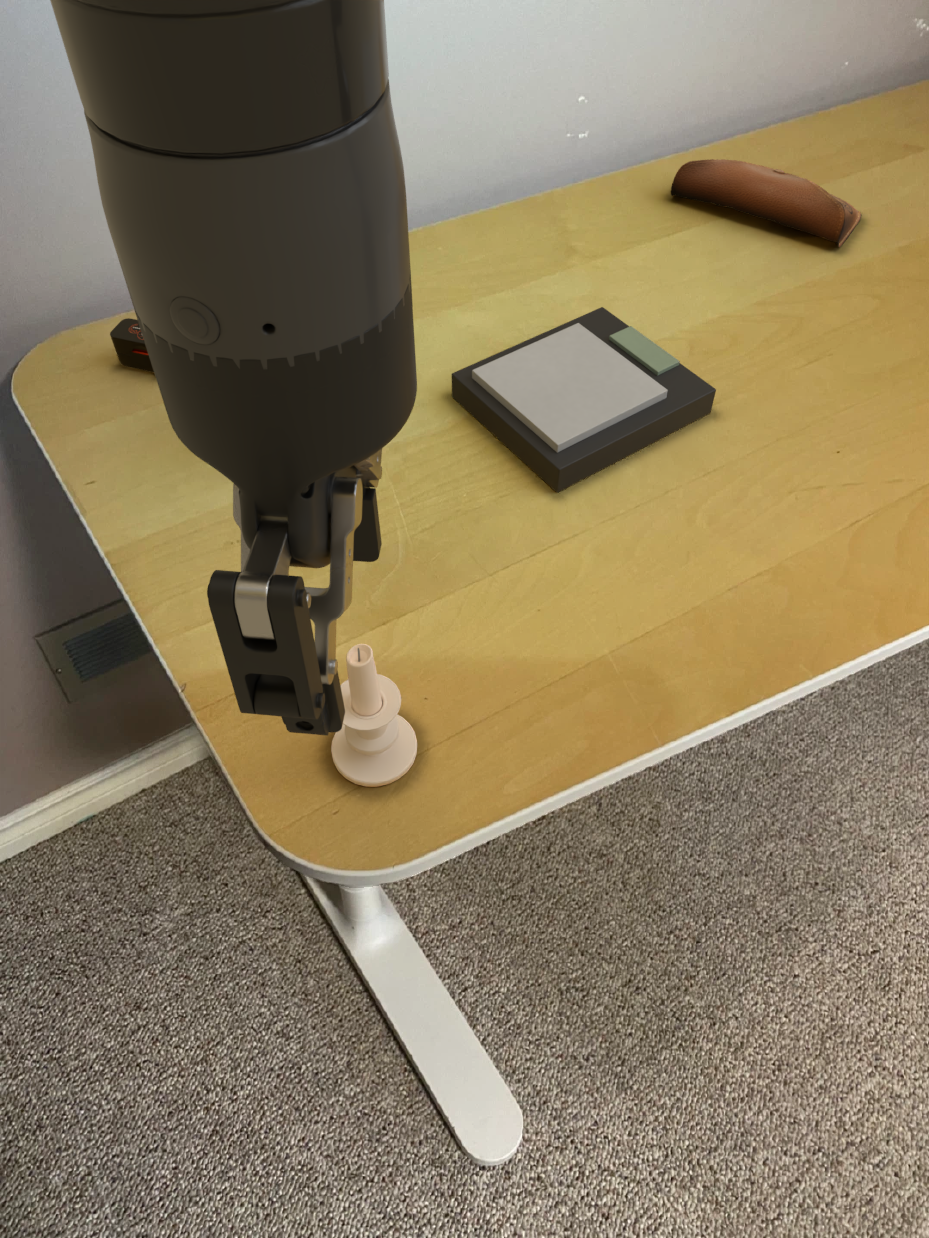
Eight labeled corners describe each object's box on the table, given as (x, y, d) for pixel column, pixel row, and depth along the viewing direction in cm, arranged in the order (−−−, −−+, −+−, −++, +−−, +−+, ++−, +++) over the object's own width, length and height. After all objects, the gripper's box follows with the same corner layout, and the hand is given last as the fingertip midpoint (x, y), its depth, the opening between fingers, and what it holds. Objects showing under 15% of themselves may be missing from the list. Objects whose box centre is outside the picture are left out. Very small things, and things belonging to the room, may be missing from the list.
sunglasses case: (867, 210, 97) (874, 167, 90) (835, 270, 96) (840, 232, 90) (703, 163, 103) (698, 120, 97) (672, 220, 103) (666, 180, 96)
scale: (599, 330, 85) (603, 298, 83) (711, 413, 78) (718, 381, 76) (451, 397, 80) (450, 365, 77) (557, 493, 72) (559, 461, 70)
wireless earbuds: (192, 384, 81) (183, 351, 78) (118, 368, 82) (106, 335, 80) (218, 352, 84) (210, 320, 81) (145, 337, 85) (135, 305, 83)
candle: (346, 799, 57) (325, 701, 48) (321, 729, 60) (297, 626, 51) (429, 770, 58) (422, 670, 50) (401, 702, 61) (389, 598, 53)
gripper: (363, 451, 21) (404, 800, 34) (440, 144, 30) (450, 513, 43) (34, 430, 22) (196, 781, 34) (205, 134, 30) (284, 501, 43)
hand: (337, 632), depth 38 cm, fingers open, 8 cm apart
